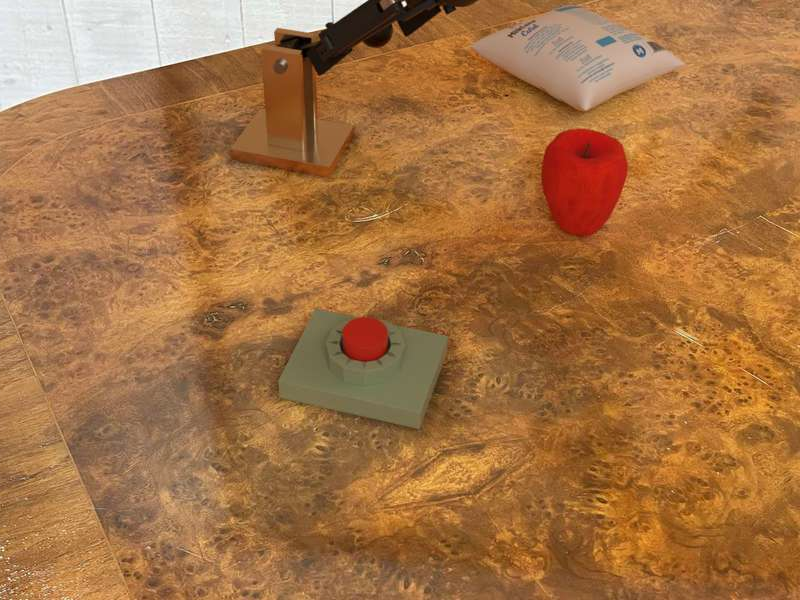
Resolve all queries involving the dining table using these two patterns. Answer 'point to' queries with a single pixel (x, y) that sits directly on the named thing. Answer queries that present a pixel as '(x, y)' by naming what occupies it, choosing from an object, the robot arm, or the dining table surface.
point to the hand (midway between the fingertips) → (359, 43)
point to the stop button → (365, 339)
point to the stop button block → (364, 371)
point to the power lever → (373, 41)
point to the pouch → (576, 56)
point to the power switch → (291, 116)
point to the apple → (583, 179)
